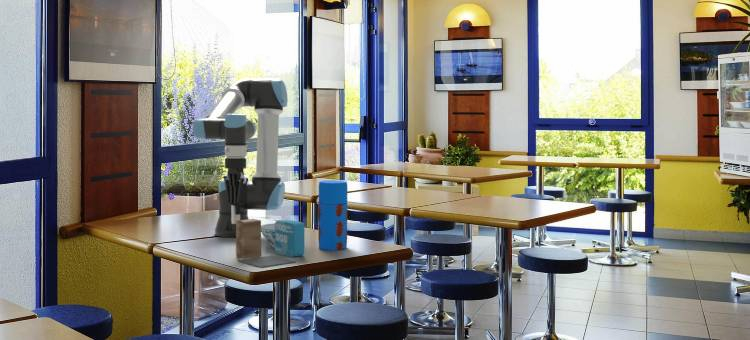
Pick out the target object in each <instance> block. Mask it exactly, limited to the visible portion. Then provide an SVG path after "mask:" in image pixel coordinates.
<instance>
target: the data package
mask: <svg viewBox="0 0 750 340" xmlns="http://www.w3.org/2000/svg"><path fill="white" fill-rule="evenodd" d="M274 223H275V248H274V251H275V253H276V254H278V255H283V256H286V257H287V256H288V257H290V258H294V257H295V258H296V257H303V256H304V255H305V249H306V248H305V240H306V239H305V232H306V231H305V229H306V228H305V224H304V223H303V222H301V221H298V220H297V221H296V220H291V219H281V220H280V219H278V220H276V221H275V222H274Z"/></svg>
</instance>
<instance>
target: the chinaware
mask: <svg viewBox="0 0 750 340" xmlns="http://www.w3.org/2000/svg"><path fill="white" fill-rule="evenodd" d="M261 236H263V238H264V239H265V240H266V241H267V243H269V244H270V245H271V248H274V249H275V222H274V223H266V224H261Z"/></svg>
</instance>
